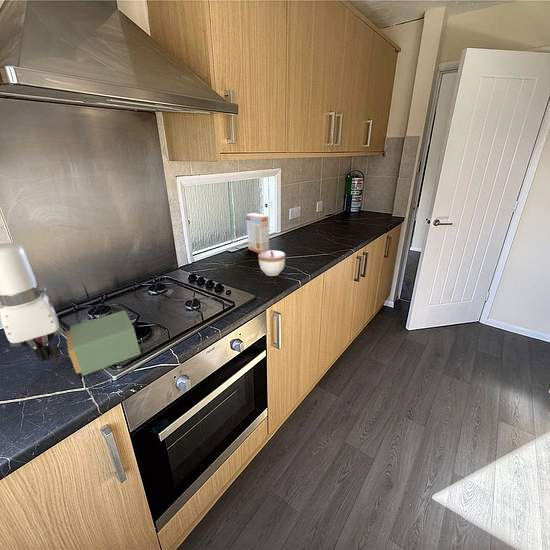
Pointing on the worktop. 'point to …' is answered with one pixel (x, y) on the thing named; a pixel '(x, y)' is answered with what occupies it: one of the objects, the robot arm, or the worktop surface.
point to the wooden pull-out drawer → (71, 353)
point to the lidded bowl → (272, 262)
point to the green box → (104, 342)
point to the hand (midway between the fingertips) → (46, 357)
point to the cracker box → (257, 232)
